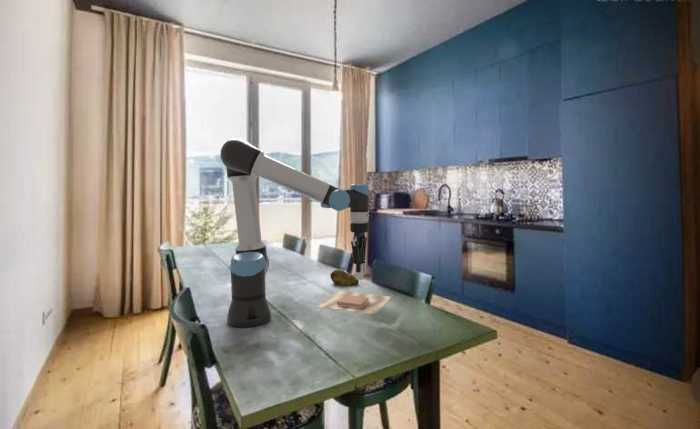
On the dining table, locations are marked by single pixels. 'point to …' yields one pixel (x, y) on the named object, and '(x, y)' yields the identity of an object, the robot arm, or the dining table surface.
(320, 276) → the dining table surface
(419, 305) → the dining table surface
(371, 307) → the board
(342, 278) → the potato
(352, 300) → the tile
